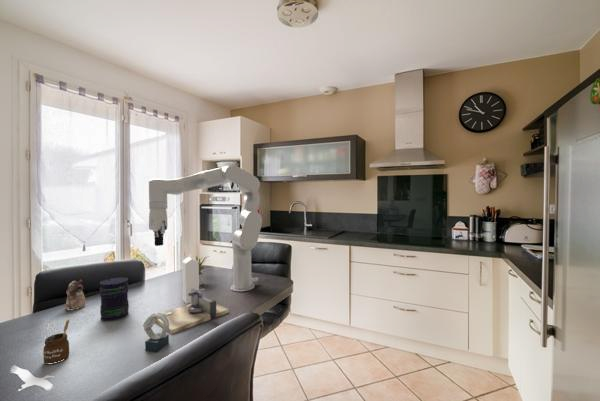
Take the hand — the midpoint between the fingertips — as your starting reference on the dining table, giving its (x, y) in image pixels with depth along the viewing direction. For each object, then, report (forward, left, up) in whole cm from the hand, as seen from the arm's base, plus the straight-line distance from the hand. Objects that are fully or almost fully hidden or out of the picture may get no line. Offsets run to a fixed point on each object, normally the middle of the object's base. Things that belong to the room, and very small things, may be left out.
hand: (159, 245), depth 128 cm
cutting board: (-3, +24, -27) cm, 36 cm away
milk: (-11, +8, -27) cm, 31 cm away
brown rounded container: (+39, +22, -27) cm, 52 cm away
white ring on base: (+16, +38, -27) cm, 49 cm away
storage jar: (+18, 0, -27) cm, 33 cm away
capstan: (-6, +28, -25) cm, 38 cm away
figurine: (+27, -24, -27) cm, 45 cm away
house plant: (-26, -13, -27) cm, 40 cm away
